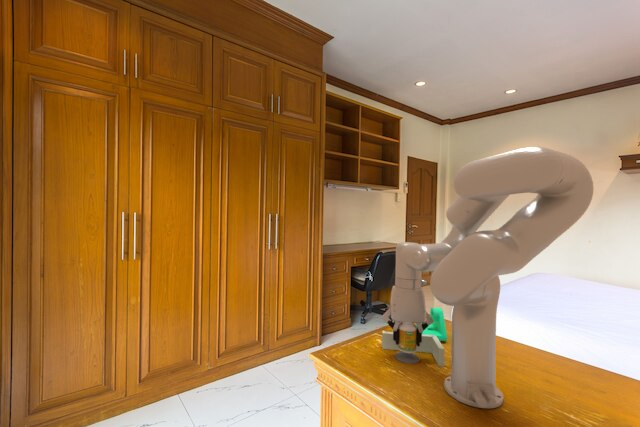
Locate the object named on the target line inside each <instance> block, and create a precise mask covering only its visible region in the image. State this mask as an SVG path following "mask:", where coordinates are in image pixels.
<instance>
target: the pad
mask: <svg viewBox="0 0 640 427" xmlns="http://www.w3.org/2000/svg"><path fill="white" fill-rule="evenodd" d="M394 358H395V359H396V360H397V361H399V362H401V363H404V364H411V365H412V364H417V363H419V362H420V357H419V355H417V354H415V353H405V352H402V351H398V352H396V353H395V354H394Z"/></svg>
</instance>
